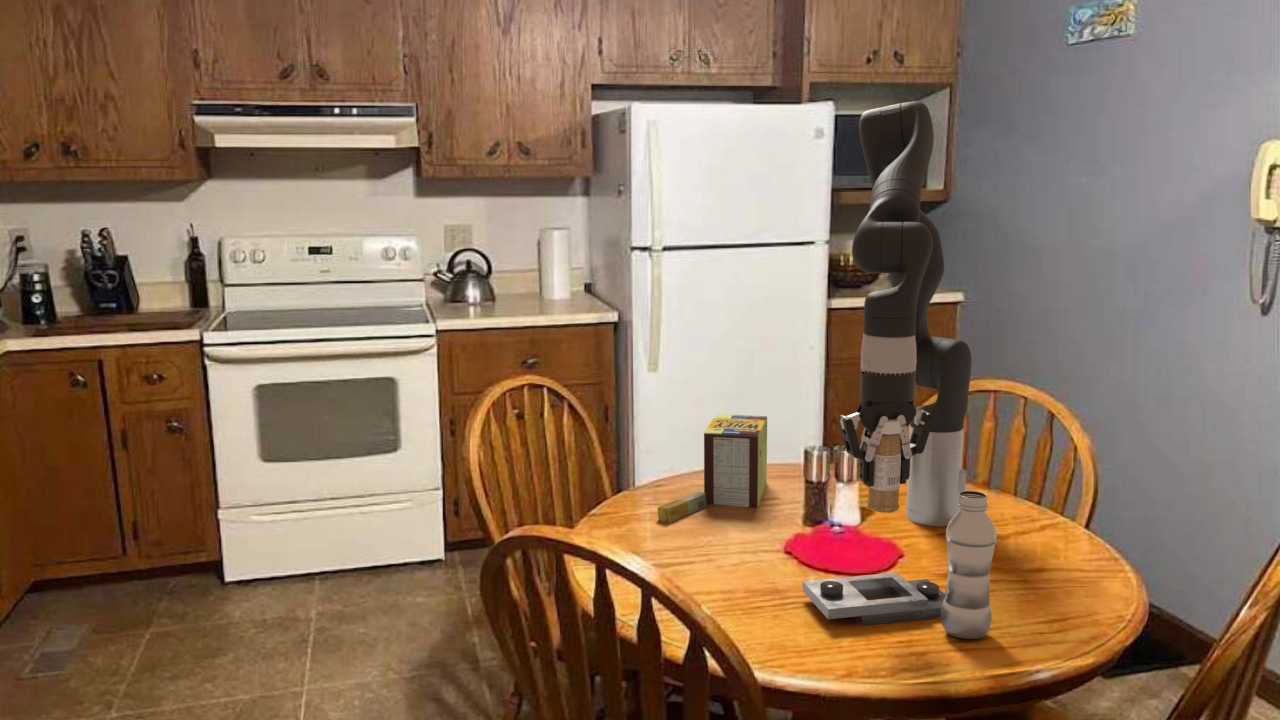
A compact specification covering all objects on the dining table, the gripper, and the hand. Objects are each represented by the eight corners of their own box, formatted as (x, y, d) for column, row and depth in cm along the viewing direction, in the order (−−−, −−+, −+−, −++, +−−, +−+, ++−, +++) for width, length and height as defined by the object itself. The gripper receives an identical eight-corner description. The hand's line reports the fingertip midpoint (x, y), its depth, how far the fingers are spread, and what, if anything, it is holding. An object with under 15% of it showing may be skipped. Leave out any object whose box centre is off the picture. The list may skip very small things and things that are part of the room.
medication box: (697, 512, 189) (696, 491, 189) (709, 513, 187) (707, 492, 187) (658, 528, 180) (656, 506, 179) (669, 529, 178) (668, 507, 178)
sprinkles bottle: (890, 502, 146) (893, 412, 143) (904, 512, 141) (909, 420, 139) (861, 505, 145) (864, 414, 142) (875, 515, 140) (878, 422, 138)
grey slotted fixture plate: (896, 581, 151) (897, 565, 151) (927, 609, 141) (928, 591, 141) (802, 590, 148) (802, 573, 148) (828, 619, 139) (828, 601, 138)
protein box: (766, 490, 201) (768, 415, 198) (758, 515, 186) (759, 434, 183) (715, 487, 203) (715, 413, 200) (702, 511, 188) (702, 432, 186)
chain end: (926, 588, 152) (927, 571, 152) (959, 615, 143) (960, 598, 142) (833, 597, 149) (834, 580, 149) (861, 625, 140) (862, 607, 139)
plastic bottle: (932, 625, 140) (938, 488, 136) (979, 623, 140) (986, 486, 137) (950, 646, 134) (957, 503, 130) (999, 644, 134) (1007, 501, 130)
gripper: (922, 359, 144) (918, 473, 147) (829, 363, 141) (826, 479, 145) (948, 368, 137) (942, 488, 140) (850, 373, 134) (847, 495, 137)
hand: (883, 483), depth 142 cm, fingers closed on sprinkles bottle, 4 cm apart
